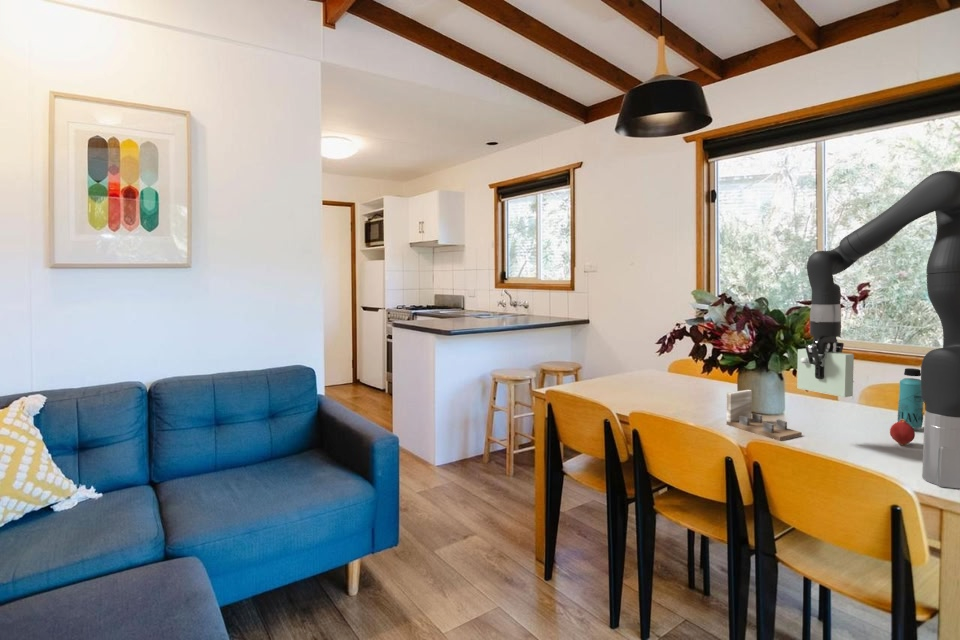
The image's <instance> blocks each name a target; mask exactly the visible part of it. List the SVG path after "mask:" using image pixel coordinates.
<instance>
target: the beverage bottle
mask: <svg viewBox="0 0 960 640" xmlns="http://www.w3.org/2000/svg"><path fill="white" fill-rule="evenodd" d="M903 375H904V376H907V378H906V377H904V378H902V379H901V380H899V393H898V406H897V422H899V421H900V420H901V419H904V420H905V421H906V422H907V423H908V424H909V425H911V426H912V427H913V428H914V429H916V428H922V427H923V423H924V416H925V411H924V401H923V399H922V395H921V378H920V379H919V378H913V377H921V369H919V368H910V367H908V368H905V369H904V373H903ZM909 377H910V378H909ZM897 422H896V423H897Z"/></svg>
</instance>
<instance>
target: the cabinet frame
mask: <svg viewBox="0 0 960 640" xmlns="http://www.w3.org/2000/svg"><path fill="white" fill-rule="evenodd" d="M752 394H753V393H752V390H751V389H744V390H737V391H730V392H726V425H727V426H729V427H730V426H731V427H733V428H737V429H739V430H744V431H747V432H750V433H753V434H757V435H760V436H763V437H766V438H769V437H770V439H773V438H774V439H773V440H777V441H785V440H789V439H794V438H798V437H802V435H803V433H802V431H798V430H796V429H795V430H794V429H792V428H791V429H790V428H788V422H787V421H785V420H782V419H775V422H776V424H774V423H770V422H766V421H763V414H759V413H756V412H754V413H752V403H753V402H752V401H753V400H752V396H753V395H752Z"/></svg>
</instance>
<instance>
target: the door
mask: <svg viewBox="0 0 960 640" xmlns="http://www.w3.org/2000/svg"><path fill="white" fill-rule="evenodd" d="M818 355H823V354H818ZM854 355H855V354H854V353H848V352H842V353H840V352H828V353H827V358H826V359H825V363H824V366H823V367H824V379H817V378H815V365H813V364H810V363H809V359H808V355H807V351H806V348H798V349H797V370H796V371H797V375H796V379H797V380H796V388H797V389H798V390H804V391H808V392H809V391H810V392H815V393H821V394H826V395H830V396H835V397H841V398H848V397H853V395H854V363H855V362H854V360H855V356H854ZM819 359H820V361H821V358H819ZM813 360H814V358H813Z"/></svg>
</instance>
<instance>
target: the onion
mask: <svg viewBox="0 0 960 640" xmlns="http://www.w3.org/2000/svg"><path fill="white" fill-rule="evenodd" d="M889 434H890V435H889V436H890V437H891V438H892V439H893V441H895V442H896V443H898V445H900V446H905V445H907V444H910V443H911V442H912V441H914V439H915V437H916V431H915V428H914V427H912V426H911V425H909V424H908V423H907V422H906V421H905V420H904V419H901V420H900V421H899V422H895V423H893V424H892V425H891V426H890V428H889Z"/></svg>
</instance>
